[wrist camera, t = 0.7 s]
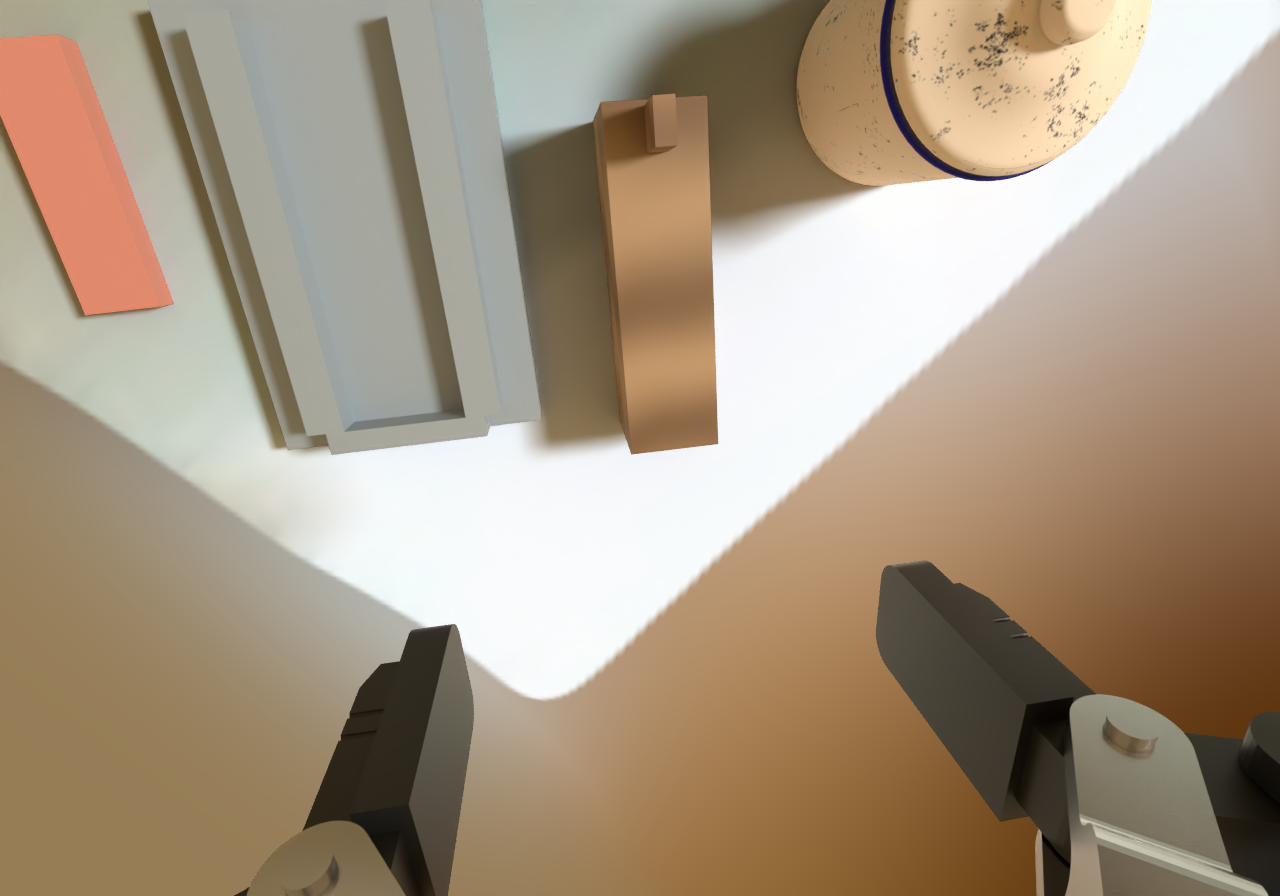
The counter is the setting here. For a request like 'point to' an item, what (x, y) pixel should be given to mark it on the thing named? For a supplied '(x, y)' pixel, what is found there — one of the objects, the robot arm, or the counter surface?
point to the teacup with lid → (961, 83)
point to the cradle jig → (361, 211)
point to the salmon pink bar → (77, 175)
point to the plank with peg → (659, 267)
